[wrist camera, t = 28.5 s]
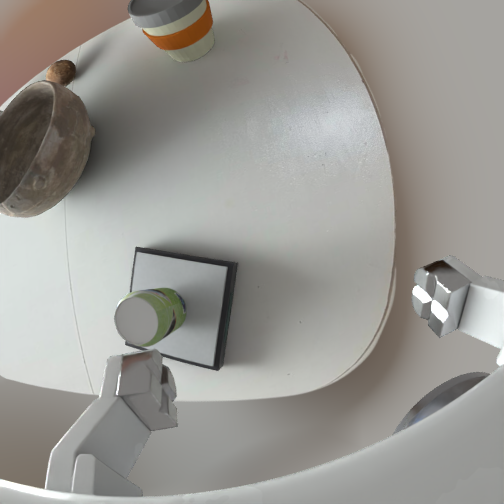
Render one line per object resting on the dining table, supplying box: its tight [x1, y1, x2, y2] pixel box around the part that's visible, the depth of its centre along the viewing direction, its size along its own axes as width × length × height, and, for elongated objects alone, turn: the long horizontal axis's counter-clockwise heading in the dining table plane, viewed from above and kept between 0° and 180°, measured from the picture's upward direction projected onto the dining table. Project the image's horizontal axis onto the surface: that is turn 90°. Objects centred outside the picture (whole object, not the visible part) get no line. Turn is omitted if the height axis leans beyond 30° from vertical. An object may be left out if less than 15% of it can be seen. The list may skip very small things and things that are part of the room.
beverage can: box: [114, 288, 187, 347], centre depth 34 cm, size 6×7×12 cm
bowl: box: [0, 80, 95, 218], centre depth 41 cm, size 24×24×15 cm
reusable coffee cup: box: [128, 0, 215, 62], centre depth 38 cm, size 13×13×15 cm
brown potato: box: [46, 60, 76, 86], centre depth 49 cm, size 8×8×6 cm
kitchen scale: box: [125, 247, 238, 371], centre depth 41 cm, size 15×15×3 cm
